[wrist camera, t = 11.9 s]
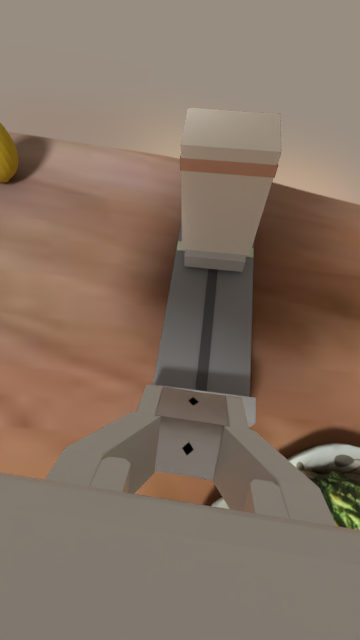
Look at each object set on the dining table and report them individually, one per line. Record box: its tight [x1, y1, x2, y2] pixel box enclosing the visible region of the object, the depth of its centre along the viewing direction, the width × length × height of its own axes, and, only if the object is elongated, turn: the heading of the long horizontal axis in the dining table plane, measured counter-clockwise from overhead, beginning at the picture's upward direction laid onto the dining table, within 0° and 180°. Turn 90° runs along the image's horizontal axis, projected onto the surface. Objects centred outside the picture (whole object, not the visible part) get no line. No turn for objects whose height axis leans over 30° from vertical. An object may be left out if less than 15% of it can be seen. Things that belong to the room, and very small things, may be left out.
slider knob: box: [180, 108, 281, 272], centre depth 22 cm, size 5×6×10 cm
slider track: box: [153, 219, 256, 427], centre depth 25 cm, size 20×7×4 cm, turn 173°
